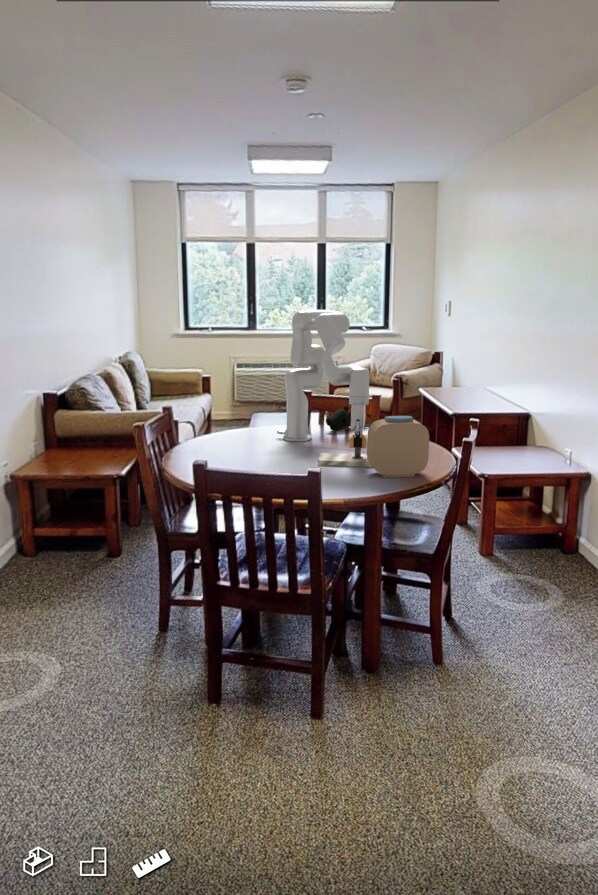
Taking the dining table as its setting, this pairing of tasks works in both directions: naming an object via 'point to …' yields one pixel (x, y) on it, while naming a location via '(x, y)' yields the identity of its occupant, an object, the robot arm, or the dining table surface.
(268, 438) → the dining table surface
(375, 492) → the dining table surface
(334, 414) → the tool
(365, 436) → the orange square frame
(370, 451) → the alarm clock
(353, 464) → the peg board
